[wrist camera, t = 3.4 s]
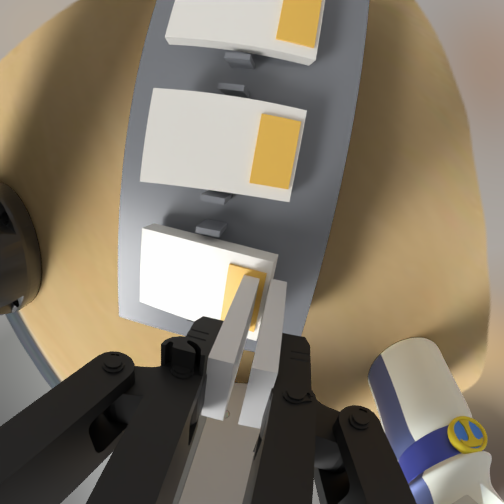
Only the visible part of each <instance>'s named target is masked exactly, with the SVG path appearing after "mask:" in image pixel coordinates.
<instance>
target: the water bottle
mask: <svg viewBox="0 0 504 504" xmlns="http://www.w3.org/2000/svg"><path fill="white" fill-rule="evenodd" d="M368 383H369V387H370V389H371V392H372V395H373V398H374V401H375V404H376V407H377V410H378V413H379V416H380V420H381V423H382V427H383V430H384V432H385V434H386V436H387V438H388V440H389V442H390V445H391V447H392V449H393V451H394V453H395V455H396V458H397V460H398V462H399V464H400V467H401V469H402V471H403V473H404V475H405V478H406V480H407V482H408V484H409V487H410V489H411V491H412V494H413V496H414V498H415V501H416V503H417V504H504V501H503V500H502V499H501V498H500V497H499V495H498V494H497V493H496V491H495V490H494V489H493V487H492V485H491V481H490V464H491V460H492V457H491V455H490V453H488V452H485V451H483V450H484V448H485V447H486V444H487V434H486V432H485V430H484V428H483V427H482V425H481V424H480V423H479V422H477V421H476V420H474V419H472V415H471V412H470V410H469V407H468V405H467V403H466V401H465V399H464V397H463V395H462V393H461V391H460V389H459V387H458V385H457V384H456V382H455V380H454V378H453V376H452V374H451V372H450V370H449V368H448V366H447V364H446V362H445V360H444V358H443V356H442V354H441V352H440V350H439V348H438V346H437V345H436V344H435V343H434V342H433V341H431V340H429V339H426V338H420V337H416V338H409V339H405V340H402V341H399V342H397V343H395V344H393V345H392V346H390V347H388V348H387V349H386V350H384V351H383V352H382V353H381V354H380V355H379V356H378V357H377V358H376V359H375V361H374V362H373V364H372V366H371V368H370V370H369V374H368Z"/></svg>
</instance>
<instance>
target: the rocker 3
mask: <svg viewBox="0 0 504 504" xmlns="http://www.w3.org/2000/svg"><path fill="white" fill-rule="evenodd" d="M277 259H278V254H274V253H270V252H266V251H263V250H259V249H255V248H251V247H247V246H243V245H239V244H235V243H231V242H227V241H223V240H219V239H215V238H211V237H207V236H203V235H199V234H195V233H191V232H187V231H183V230H179V229H175V228H171V227H167V226H163V225H159V224H155V223H154V224H151V225H148V226H146V227H143V228H142V239H141V261H140V302H142V303H145V304H147V305H150V306H153V307H155V308H158V309H161V310H163V311H166V312H169V313H172V314H175V315H177V316H180V317H183V318H186V319H189V320H192V321H196V320H197V319H199V318H201V317H202V316H206V317H210V318H214V319H218V320H222V321H224V319H225V317H226V315H227V313H228V310H229V308H230V306H231V303H232V301H233V299H234V297H235V294H236V292H237V290H238V287H239V285H240V283H241V280H242V278H243V276H244V275H248V276H251V277H255V278H259V279H260V280H259V285H258V290H257V295H256V300H255V305H254V310H253V314H252V319H251V324H250V329H249V332H248V336H247V338H248V339H251V340H254V341H257V339H258V337H259V332H260V328H261V323H262V319H263V314H264V310H265V305H266V301H267V296H268V292H269V287H270V283H271V279H273V278H274V273H275V268H276V264H277Z"/></svg>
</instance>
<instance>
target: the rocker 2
mask: <svg viewBox="0 0 504 504" xmlns="http://www.w3.org/2000/svg"><path fill="white" fill-rule="evenodd" d="M306 113H307V110H303V109H298V108H294V107H289V106H285V105H280V104H275V103H270V102H265V101H259V100H254V99H248V98H242V97H236V96H229V95H222V94H214V93H206V92H197V91H188V90H176V89H163V88H153V93H152V98H151V104H150V109H149V115H148V121H147V128H146V135H145V142H144V149H143V157H142V165H141V174H140V182H149V183H158V184H166V185H175V186H183V187H191V188H199V189H206V190H213V191H221V192H228V193H234V194H241V195H248V196H254V197H260V198H267V199H273V200H279V201H285V202H289V201H290V196H291V191H292V186H293V181H294V176H295V171H296V166H297V161H298V156H299V150H300V145H301V140H302V135H303V129H304V124H305V118H306Z"/></svg>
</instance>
